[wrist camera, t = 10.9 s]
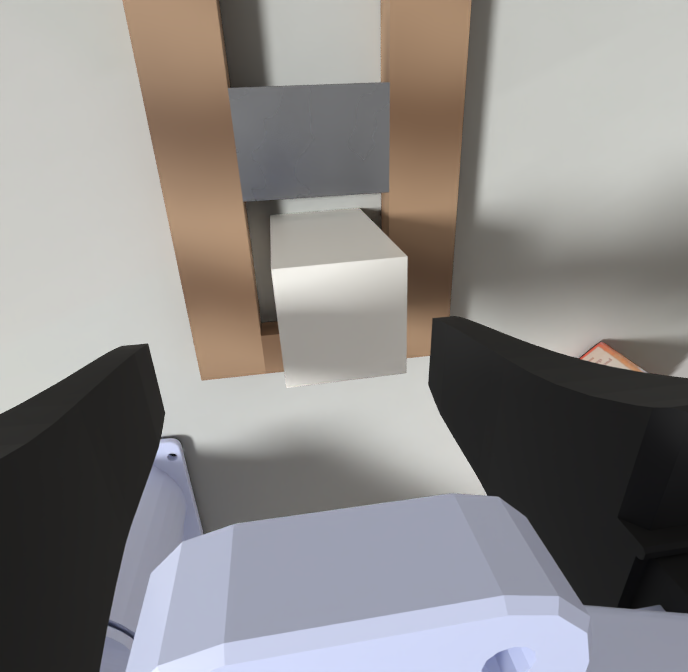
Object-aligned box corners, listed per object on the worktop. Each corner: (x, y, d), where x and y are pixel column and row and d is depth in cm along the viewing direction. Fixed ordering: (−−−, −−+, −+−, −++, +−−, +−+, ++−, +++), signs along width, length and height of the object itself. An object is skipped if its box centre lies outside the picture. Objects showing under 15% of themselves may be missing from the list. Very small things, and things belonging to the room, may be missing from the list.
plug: (362, 291, 22) (406, 372, 15) (280, 299, 22) (286, 388, 15) (359, 207, 20) (407, 256, 13) (270, 215, 20) (270, 269, 13)
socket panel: (437, 340, 24) (446, 353, 23) (205, 364, 23) (201, 380, 21) (467, -191, 15) (486, -220, 14) (91, -204, 14) (72, -238, 12)
